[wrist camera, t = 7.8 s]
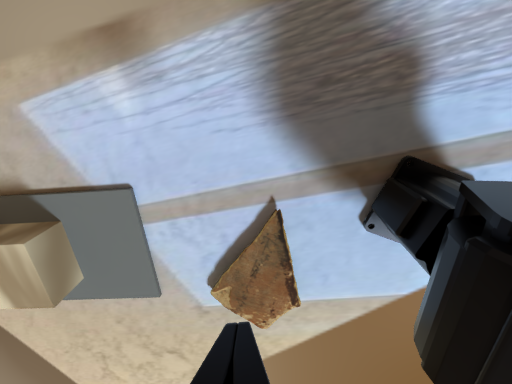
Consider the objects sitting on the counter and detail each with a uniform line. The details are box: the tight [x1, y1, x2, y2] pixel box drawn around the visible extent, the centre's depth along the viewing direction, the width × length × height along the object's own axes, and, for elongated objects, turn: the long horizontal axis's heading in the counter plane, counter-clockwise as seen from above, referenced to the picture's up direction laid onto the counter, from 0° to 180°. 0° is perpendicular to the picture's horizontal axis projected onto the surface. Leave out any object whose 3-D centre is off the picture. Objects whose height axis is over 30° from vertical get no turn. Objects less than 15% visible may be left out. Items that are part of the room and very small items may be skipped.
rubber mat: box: [0, 188, 161, 300], centre depth 23 cm, size 16×11×1 cm
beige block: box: [0, 221, 84, 309], centre depth 21 cm, size 4×6×8 cm
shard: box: [211, 209, 301, 329], centre depth 22 cm, size 11×8×2 cm
